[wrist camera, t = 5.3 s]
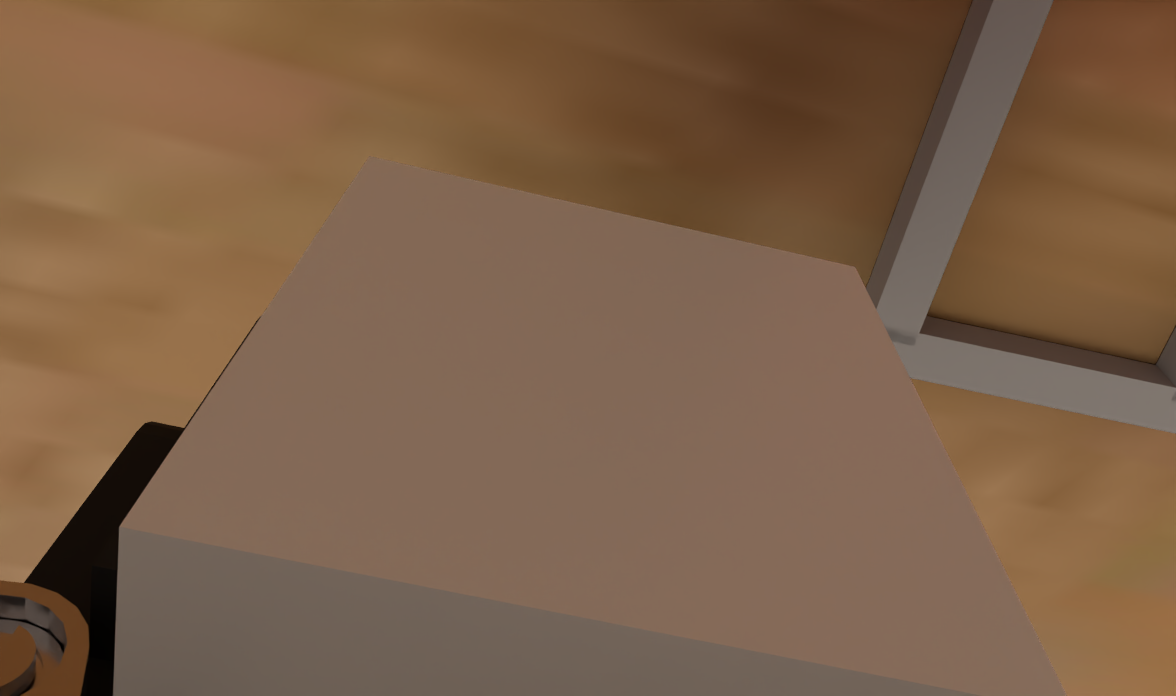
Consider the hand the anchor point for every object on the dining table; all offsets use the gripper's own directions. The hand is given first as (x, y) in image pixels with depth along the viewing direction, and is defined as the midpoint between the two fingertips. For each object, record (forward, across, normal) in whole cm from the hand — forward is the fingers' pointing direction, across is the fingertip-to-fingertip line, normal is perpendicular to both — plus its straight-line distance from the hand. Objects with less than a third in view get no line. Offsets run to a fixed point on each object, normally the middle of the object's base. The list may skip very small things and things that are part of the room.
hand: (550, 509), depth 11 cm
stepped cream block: (+1, 0, 0) cm, 1 cm away
